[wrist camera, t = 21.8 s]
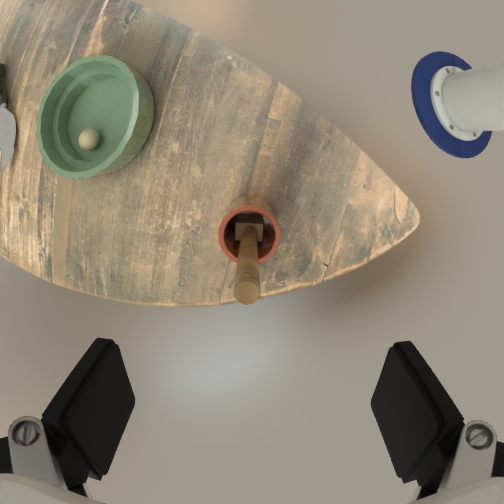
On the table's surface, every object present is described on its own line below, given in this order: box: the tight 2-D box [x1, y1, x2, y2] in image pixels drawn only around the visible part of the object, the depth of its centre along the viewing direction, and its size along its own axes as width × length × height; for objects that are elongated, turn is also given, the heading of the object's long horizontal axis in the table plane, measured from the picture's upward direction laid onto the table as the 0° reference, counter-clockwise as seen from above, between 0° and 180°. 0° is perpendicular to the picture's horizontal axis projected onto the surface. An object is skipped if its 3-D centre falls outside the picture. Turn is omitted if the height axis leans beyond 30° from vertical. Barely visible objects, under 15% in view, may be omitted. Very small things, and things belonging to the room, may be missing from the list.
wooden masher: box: [234, 214, 263, 305], centre depth 27 cm, size 3×2×20 cm, turn 86°
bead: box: [78, 128, 100, 150], centre depth 31 cm, size 3×3×3 cm
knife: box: [0, 63, 16, 174], centre depth 29 cm, size 22×4×5 cm
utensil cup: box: [219, 194, 281, 264], centre depth 32 cm, size 6×6×10 cm
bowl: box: [36, 55, 154, 179], centre depth 29 cm, size 16×16×6 cm
